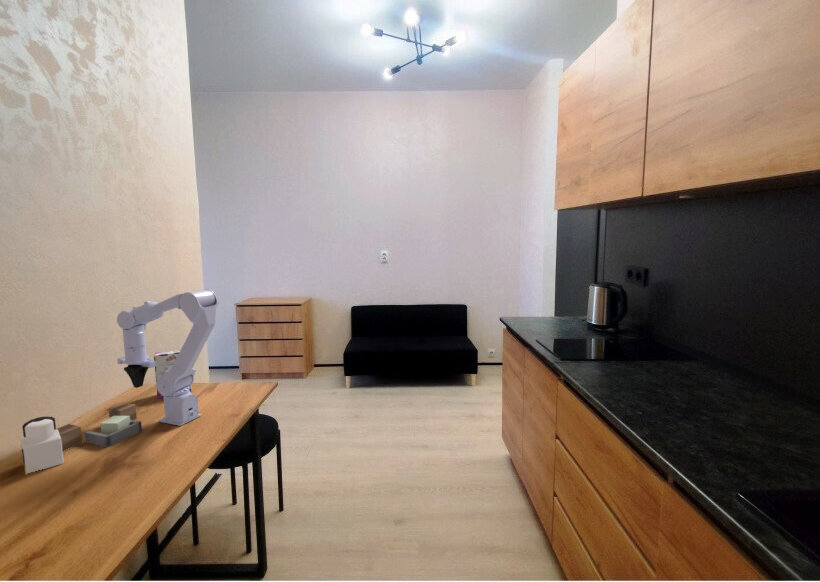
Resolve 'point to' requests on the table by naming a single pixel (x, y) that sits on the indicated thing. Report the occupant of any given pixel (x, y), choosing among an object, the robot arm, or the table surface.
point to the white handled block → (41, 444)
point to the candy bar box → (165, 364)
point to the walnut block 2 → (124, 411)
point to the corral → (113, 435)
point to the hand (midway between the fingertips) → (138, 386)
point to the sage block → (114, 424)
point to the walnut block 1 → (70, 436)
